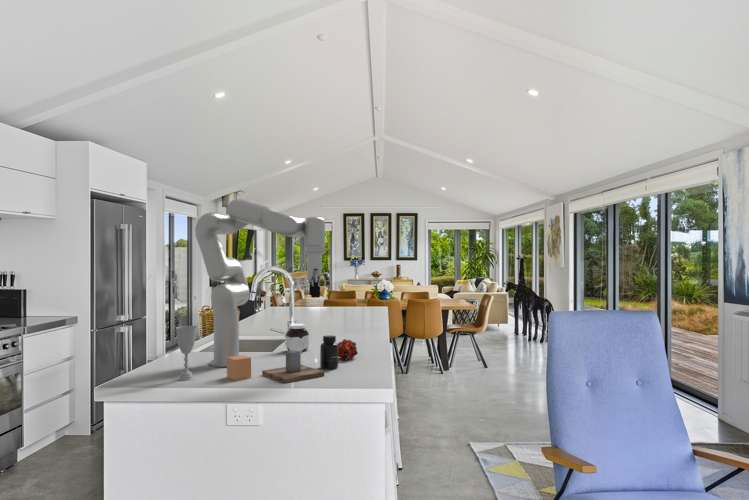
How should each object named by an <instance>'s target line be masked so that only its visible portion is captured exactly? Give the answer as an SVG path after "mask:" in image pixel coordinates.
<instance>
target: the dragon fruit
mask: <svg viewBox="0 0 749 500" xmlns="http://www.w3.org/2000/svg"><path fill="white" fill-rule="evenodd" d="M337 344H338V358H340V359H341V360H342V361H347V360H348V359H350V358H351V359H350V360H352V359H354V358H355V356H357V355H358V354H359V353H358V351H357V349H358V348H357V343H356V342H355V341H352V340H351V339H346V338H345V339H342V341H339V342H338V343H337ZM346 359H347V360H346Z"/></svg>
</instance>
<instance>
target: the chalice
mask: <svg viewBox="0 0 749 500" xmlns="http://www.w3.org/2000/svg"><path fill="white" fill-rule="evenodd" d="M197 328H198V327H197V325H180V326H176V327H175V328H174V329H175V331H176V343H177V345H178V349H179V350H180V352H181V353H182V354H183V355H184V359H183V361H184V364H183V366H184V370H183V371H181V373H180V375H179V378H178V381H191V380H194V378H195V377H194V376H193V373H192V371H189V369H188V368H189V365H190V364H189V360H190V359H189V356H188V355H189V354H190V353H191V352H192V350H193V348H194V346H195V342H196V330H197Z"/></svg>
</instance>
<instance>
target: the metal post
mask: <svg viewBox="0 0 749 500" xmlns="http://www.w3.org/2000/svg"><path fill="white" fill-rule="evenodd" d="M301 355H302V352H300V351H296V350H293V351H289V350H288V351H285V367H286V371H287V372H290V373H294V372H300V371H301V365H302V364H301V363H302V362H301V361H302V360H301V357H302V356H301Z"/></svg>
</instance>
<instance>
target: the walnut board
mask: <svg viewBox="0 0 749 500" xmlns="http://www.w3.org/2000/svg"><path fill="white" fill-rule="evenodd" d="M261 372H262V373H261V374H263V375H262V376H264V375H265V377H267V376H268V377H267V378H269V377H270V379H272V378H273V379H272V380H275V381H278V382H281V383H283V384H289V383H293V382H300V381H304V380H309V379H316V378H321V377H322V378H323V377H325V371H324V370H320V369H316V368H313V367H310V366H307V365H303V364H301V371H300V372H294V373H290V372H287V371H286V366H284V367H283V366H282V367H278V368H277V367H276V368H270V369H265V370H264V369H263V370H262V371H261Z"/></svg>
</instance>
